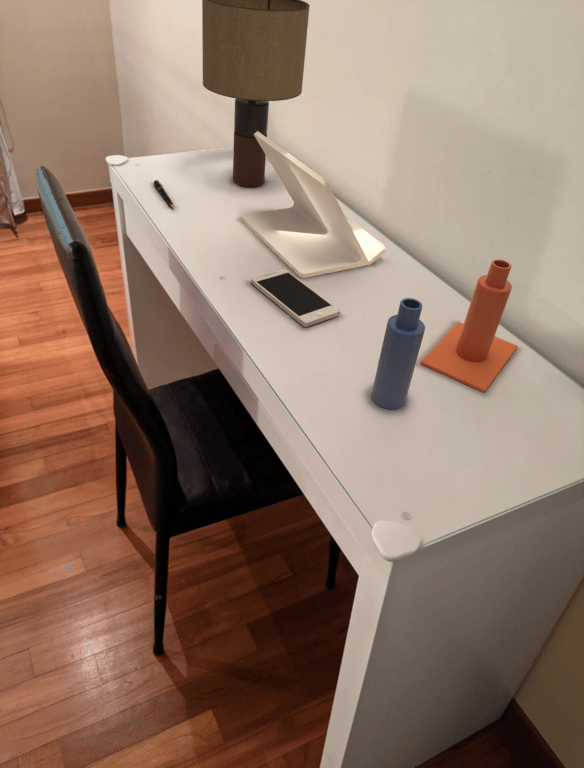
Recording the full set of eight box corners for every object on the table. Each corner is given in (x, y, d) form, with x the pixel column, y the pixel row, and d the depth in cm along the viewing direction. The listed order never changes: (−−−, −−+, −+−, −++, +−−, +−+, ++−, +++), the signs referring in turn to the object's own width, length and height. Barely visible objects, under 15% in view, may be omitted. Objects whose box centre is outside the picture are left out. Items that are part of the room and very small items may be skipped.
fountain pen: (177, 210, 122) (176, 203, 121) (171, 211, 122) (170, 204, 121) (157, 183, 132) (156, 176, 131) (151, 184, 132) (151, 177, 131)
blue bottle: (410, 396, 83) (436, 303, 74) (395, 414, 80) (420, 318, 71) (381, 382, 85) (403, 289, 76) (365, 399, 82) (385, 304, 73)
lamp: (195, 166, 141) (193, -12, 119) (278, 164, 147) (291, -7, 125) (213, 202, 127) (214, 7, 105) (304, 198, 133) (324, 12, 110)
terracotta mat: (516, 348, 95) (517, 345, 94) (484, 393, 85) (485, 390, 85) (457, 324, 99) (458, 321, 98) (420, 363, 89) (420, 361, 89)
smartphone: (304, 327, 94) (305, 322, 93) (249, 282, 103) (249, 277, 102) (340, 315, 97) (341, 310, 97) (283, 272, 106) (284, 267, 106)
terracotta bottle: (492, 360, 91) (525, 271, 81) (464, 363, 89) (495, 273, 80) (477, 342, 94) (507, 254, 84) (450, 345, 93) (478, 256, 83)
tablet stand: (301, 278, 105) (312, 182, 95) (239, 219, 122) (242, 131, 111) (386, 261, 113) (404, 170, 102) (317, 207, 129) (326, 124, 119)
